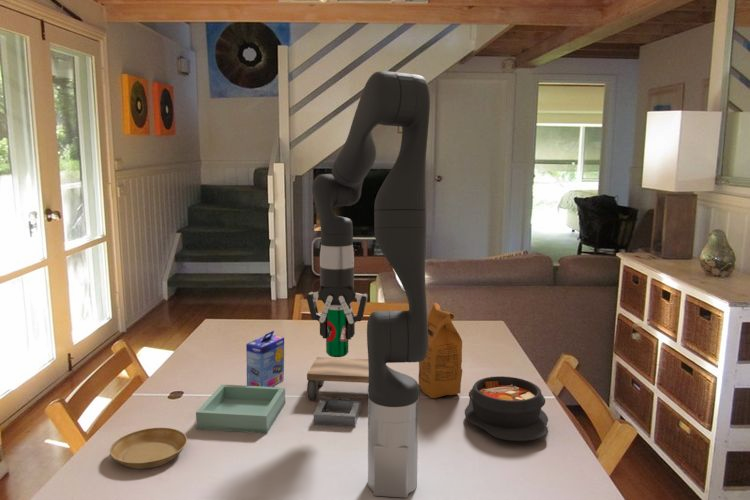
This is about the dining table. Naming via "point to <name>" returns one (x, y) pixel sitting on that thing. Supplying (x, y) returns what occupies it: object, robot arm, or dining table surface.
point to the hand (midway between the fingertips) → (337, 337)
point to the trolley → (336, 372)
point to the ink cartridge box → (265, 361)
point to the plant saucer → (148, 447)
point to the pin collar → (337, 418)
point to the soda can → (336, 331)
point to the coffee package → (441, 356)
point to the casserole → (508, 408)
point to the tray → (241, 408)
